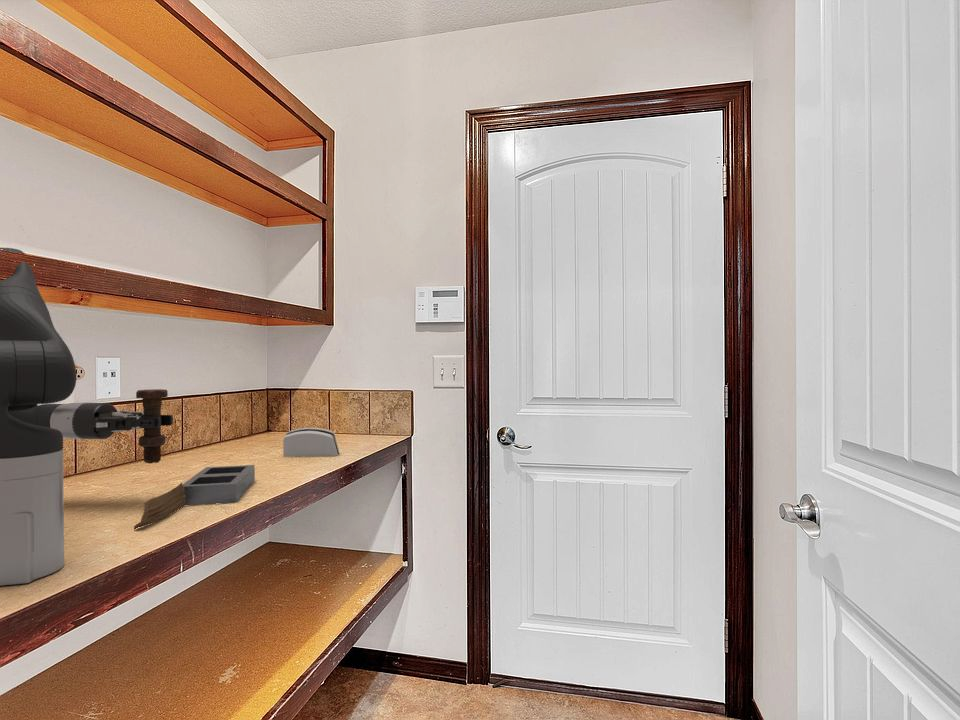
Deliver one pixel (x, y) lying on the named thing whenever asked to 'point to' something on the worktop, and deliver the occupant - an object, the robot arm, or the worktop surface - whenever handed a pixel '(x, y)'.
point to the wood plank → (162, 506)
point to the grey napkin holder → (310, 443)
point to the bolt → (152, 435)
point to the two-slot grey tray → (219, 484)
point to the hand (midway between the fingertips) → (165, 421)
